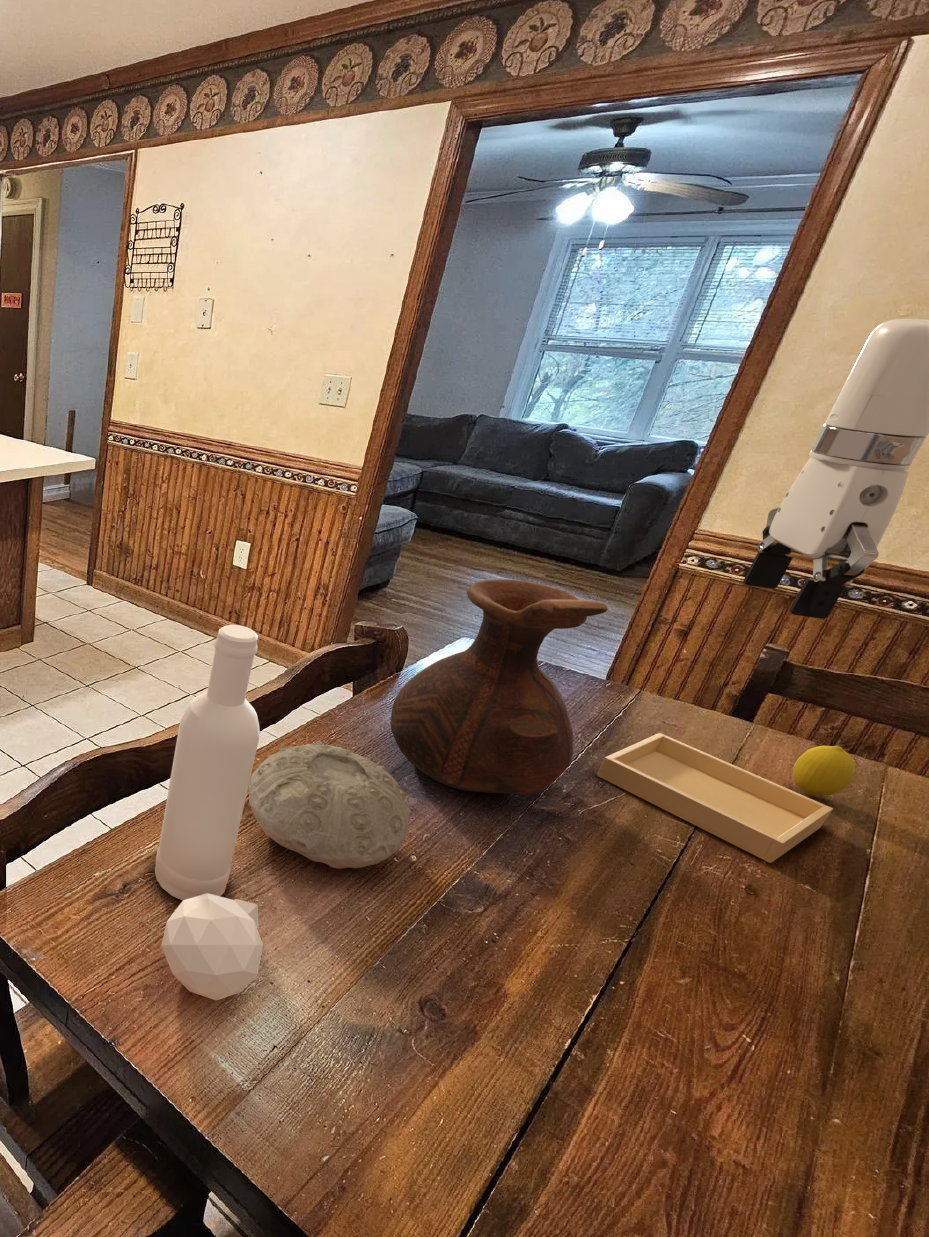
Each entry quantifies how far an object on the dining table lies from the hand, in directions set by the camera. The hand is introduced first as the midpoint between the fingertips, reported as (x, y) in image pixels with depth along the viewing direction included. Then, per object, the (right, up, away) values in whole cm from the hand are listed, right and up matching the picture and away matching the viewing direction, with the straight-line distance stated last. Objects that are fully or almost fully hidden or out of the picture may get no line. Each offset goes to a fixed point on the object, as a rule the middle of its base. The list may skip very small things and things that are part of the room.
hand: (781, 600), depth 85 cm
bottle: (-68, -31, -3) cm, 75 cm away
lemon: (+22, -26, +19) cm, 39 cm away
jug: (-26, -23, +19) cm, 39 cm away
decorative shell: (-51, -28, +5) cm, 59 cm away
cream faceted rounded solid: (-68, -37, -14) cm, 79 cm away
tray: (+5, -26, +16) cm, 31 cm away
